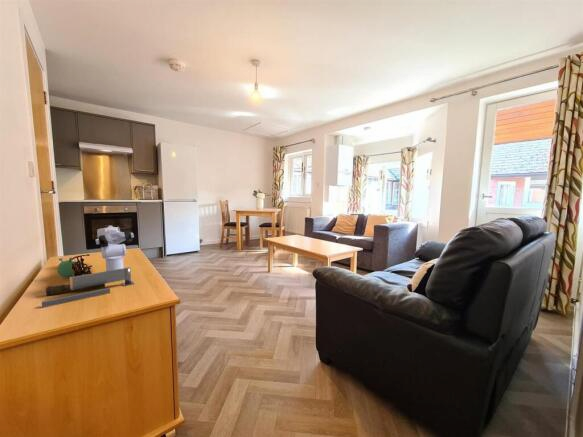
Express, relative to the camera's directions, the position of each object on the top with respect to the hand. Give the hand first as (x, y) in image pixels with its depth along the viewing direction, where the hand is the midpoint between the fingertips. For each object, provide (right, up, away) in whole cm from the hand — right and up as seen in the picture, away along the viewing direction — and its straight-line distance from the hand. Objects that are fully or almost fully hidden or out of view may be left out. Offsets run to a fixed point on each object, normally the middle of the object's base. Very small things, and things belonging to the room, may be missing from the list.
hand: (117, 241), depth 108 cm
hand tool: (-14, -21, -4) cm, 26 cm away
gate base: (+2, -20, +4) cm, 21 cm away
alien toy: (-34, -19, +13) cm, 42 cm away
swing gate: (-5, -20, -2) cm, 21 cm away
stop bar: (-7, -21, -12) cm, 26 cm away
